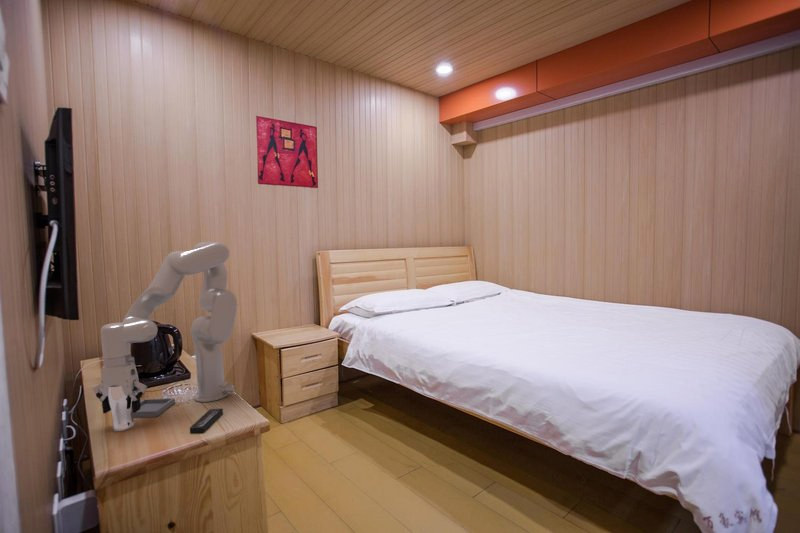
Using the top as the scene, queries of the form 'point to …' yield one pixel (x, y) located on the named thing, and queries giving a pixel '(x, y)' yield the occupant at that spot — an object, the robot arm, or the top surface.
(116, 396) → the beer glass
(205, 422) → the multiport hub
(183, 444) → the top surface
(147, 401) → the tray
